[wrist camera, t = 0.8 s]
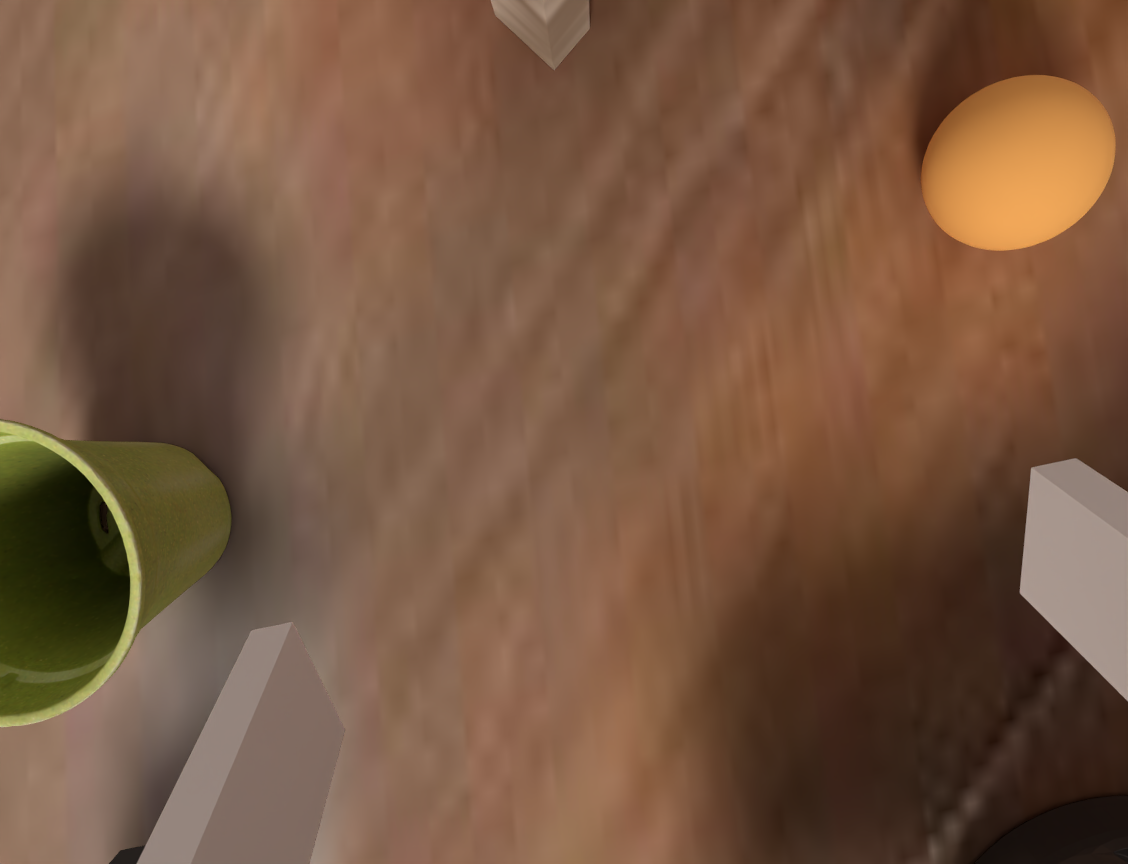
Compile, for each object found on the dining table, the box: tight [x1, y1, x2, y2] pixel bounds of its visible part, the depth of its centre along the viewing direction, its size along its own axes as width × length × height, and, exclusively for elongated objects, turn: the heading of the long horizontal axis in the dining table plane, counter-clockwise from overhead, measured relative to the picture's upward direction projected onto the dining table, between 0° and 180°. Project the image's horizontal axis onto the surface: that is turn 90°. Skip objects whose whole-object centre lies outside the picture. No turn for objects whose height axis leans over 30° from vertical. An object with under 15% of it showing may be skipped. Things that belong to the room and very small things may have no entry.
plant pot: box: [0, 419, 231, 727], centre depth 25 cm, size 9×9×9 cm
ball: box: [921, 75, 1116, 250], centre depth 24 cm, size 6×6×6 cm
